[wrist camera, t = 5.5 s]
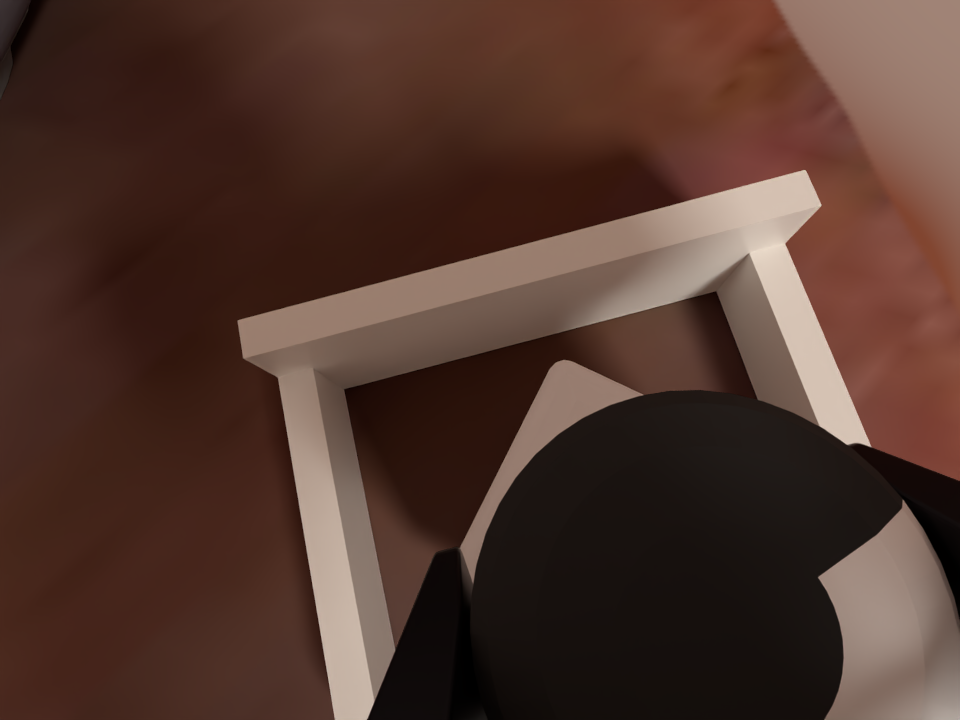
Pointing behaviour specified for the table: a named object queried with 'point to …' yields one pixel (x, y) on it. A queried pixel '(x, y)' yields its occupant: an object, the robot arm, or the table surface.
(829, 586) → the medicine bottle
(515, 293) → the bay
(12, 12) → the bluetooth speaker
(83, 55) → the table surface
